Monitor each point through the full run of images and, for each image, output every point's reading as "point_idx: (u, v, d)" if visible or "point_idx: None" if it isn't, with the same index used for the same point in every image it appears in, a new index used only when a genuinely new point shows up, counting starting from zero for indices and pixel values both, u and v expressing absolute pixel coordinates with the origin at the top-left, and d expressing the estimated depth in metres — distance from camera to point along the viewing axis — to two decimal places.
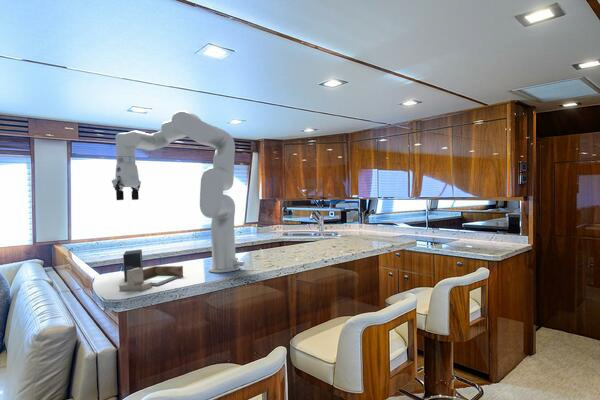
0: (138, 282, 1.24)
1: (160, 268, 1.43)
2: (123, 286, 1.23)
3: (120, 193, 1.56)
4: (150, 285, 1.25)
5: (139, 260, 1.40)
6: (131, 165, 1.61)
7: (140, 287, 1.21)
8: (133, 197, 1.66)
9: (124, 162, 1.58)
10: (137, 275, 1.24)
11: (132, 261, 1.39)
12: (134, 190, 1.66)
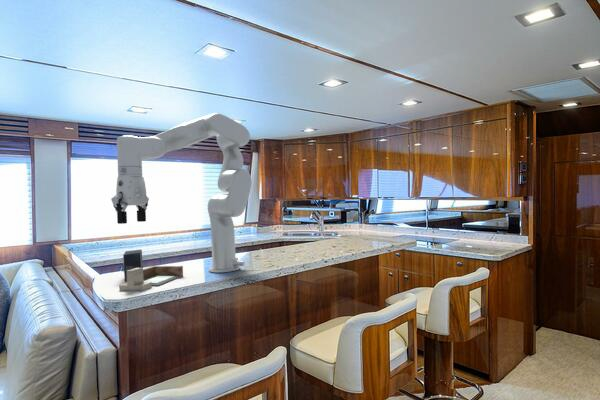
0: (138, 282, 1.24)
1: (160, 268, 1.43)
2: (123, 286, 1.23)
3: (122, 215, 1.19)
4: (150, 285, 1.25)
5: (139, 260, 1.40)
6: (137, 177, 1.24)
7: (139, 287, 1.21)
8: (139, 218, 1.29)
9: (128, 174, 1.21)
10: (137, 275, 1.24)
11: (132, 261, 1.39)
12: (140, 209, 1.29)
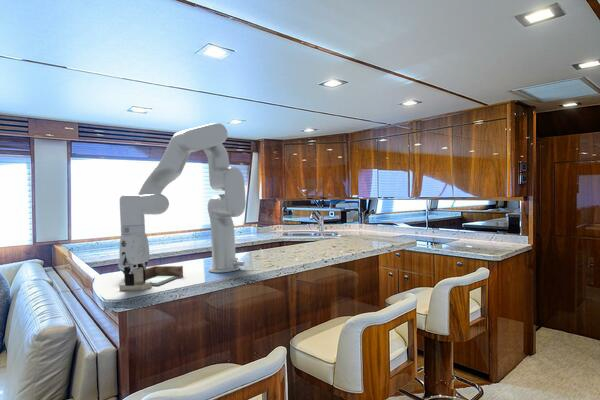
0: (138, 282, 1.24)
1: (160, 268, 1.43)
2: (123, 285, 1.23)
3: (130, 277, 1.21)
4: (150, 285, 1.25)
5: None
6: (140, 236, 1.24)
7: (139, 287, 1.21)
8: None
9: (131, 234, 1.21)
10: (137, 275, 1.24)
11: None
12: None
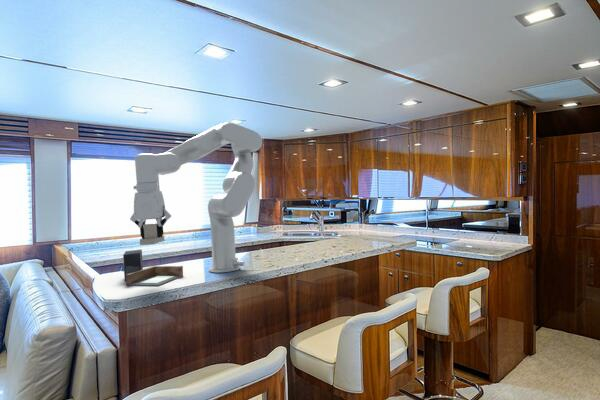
0: (150, 236, 1.31)
1: (160, 268, 1.43)
2: None
3: None
4: (151, 241, 1.28)
5: (139, 260, 1.40)
6: (145, 193, 1.29)
7: None
8: None
9: (137, 190, 1.30)
10: (148, 229, 1.31)
11: (132, 261, 1.39)
12: None
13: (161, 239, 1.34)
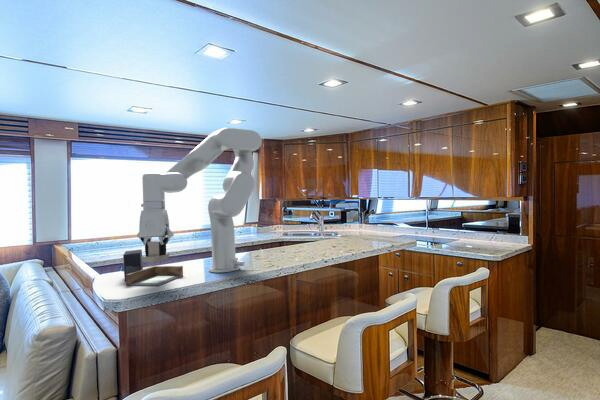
0: (153, 254, 1.34)
1: (160, 268, 1.43)
2: None
3: None
4: (151, 259, 1.30)
5: (139, 260, 1.40)
6: (149, 211, 1.32)
7: None
8: None
9: (143, 208, 1.34)
10: (152, 247, 1.34)
11: (132, 261, 1.39)
12: None
13: (164, 257, 1.36)
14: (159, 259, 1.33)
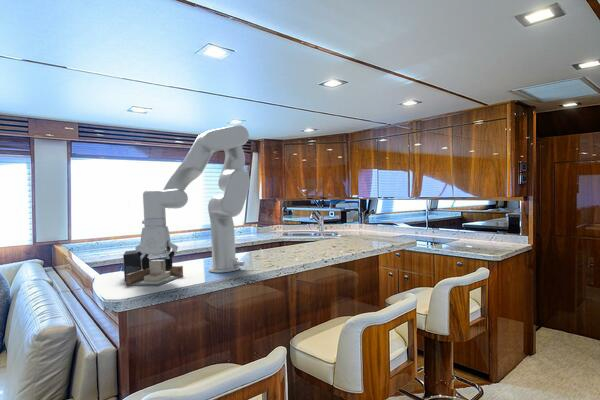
0: (155, 273, 1.34)
1: None
2: None
3: None
4: (154, 279, 1.30)
5: (139, 260, 1.40)
6: (150, 229, 1.32)
7: None
8: None
9: None
10: (154, 266, 1.34)
11: (132, 261, 1.39)
12: None
13: (166, 275, 1.36)
14: (161, 278, 1.33)
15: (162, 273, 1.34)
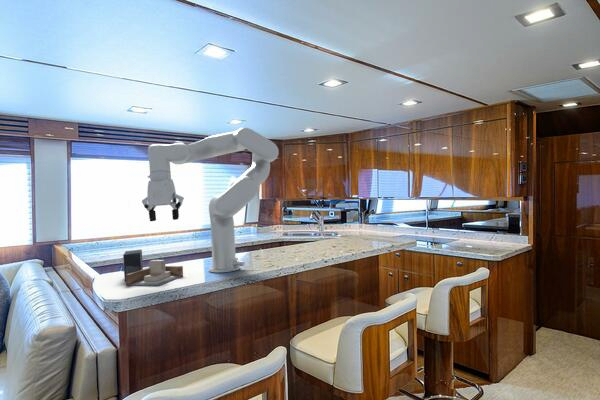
0: (155, 273, 1.34)
1: None
2: None
3: None
4: (154, 279, 1.30)
5: (139, 260, 1.40)
6: (157, 181, 1.39)
7: None
8: None
9: None
10: (154, 266, 1.34)
11: (132, 261, 1.39)
12: None
13: (166, 275, 1.36)
14: (161, 278, 1.33)
15: (162, 273, 1.34)
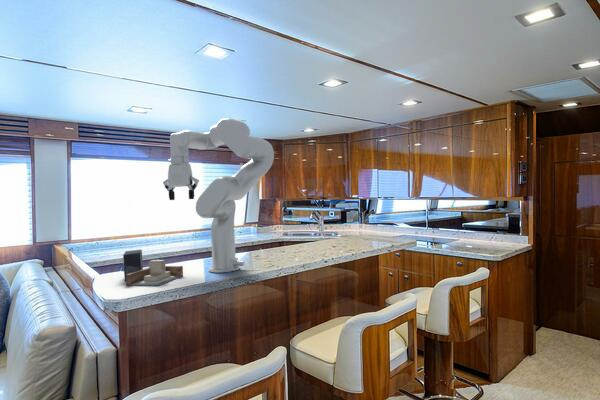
0: (155, 273, 1.34)
1: None
2: None
3: (169, 193, 1.63)
4: (154, 279, 1.30)
5: (139, 260, 1.40)
6: (176, 165, 1.60)
7: None
8: None
9: (171, 163, 1.61)
10: (154, 266, 1.34)
11: (132, 261, 1.39)
12: None
13: (166, 275, 1.36)
14: (161, 278, 1.33)
15: (162, 273, 1.34)
